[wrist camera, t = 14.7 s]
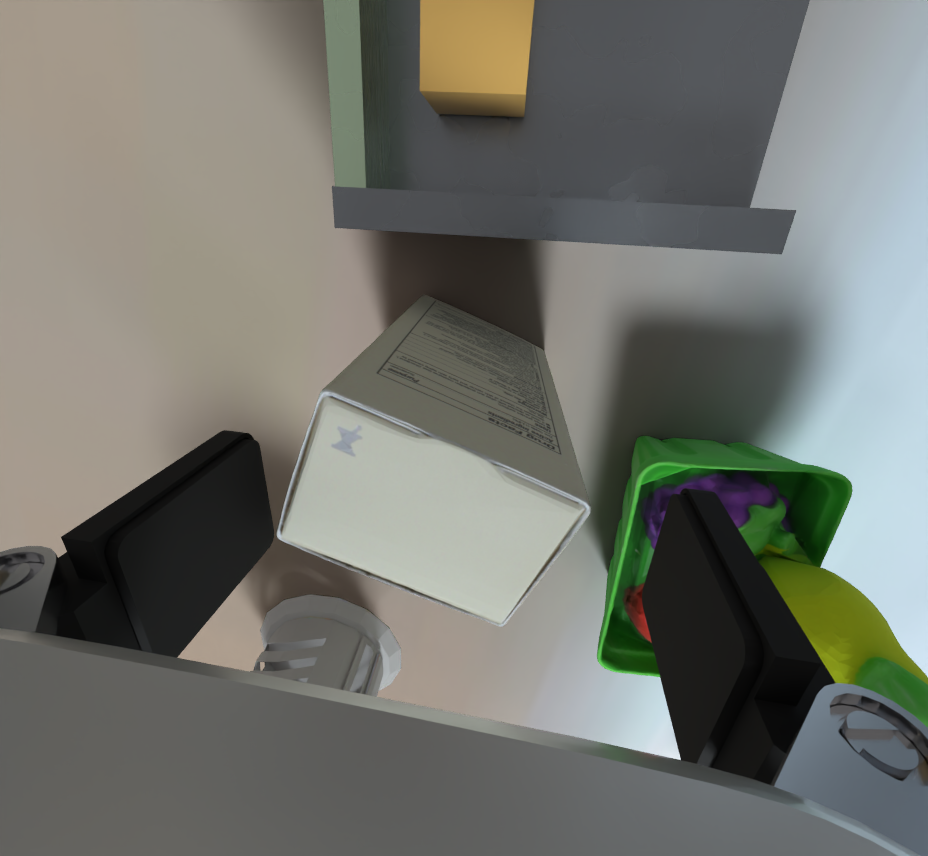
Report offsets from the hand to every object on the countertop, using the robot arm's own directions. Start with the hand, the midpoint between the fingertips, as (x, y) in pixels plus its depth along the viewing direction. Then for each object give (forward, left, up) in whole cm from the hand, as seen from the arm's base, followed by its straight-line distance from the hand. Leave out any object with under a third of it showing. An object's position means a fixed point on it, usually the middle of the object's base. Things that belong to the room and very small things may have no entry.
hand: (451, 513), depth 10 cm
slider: (+1, -12, -10) cm, 15 cm away
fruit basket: (-11, +7, -12) cm, 18 cm away
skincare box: (+1, 0, -12) cm, 12 cm away
